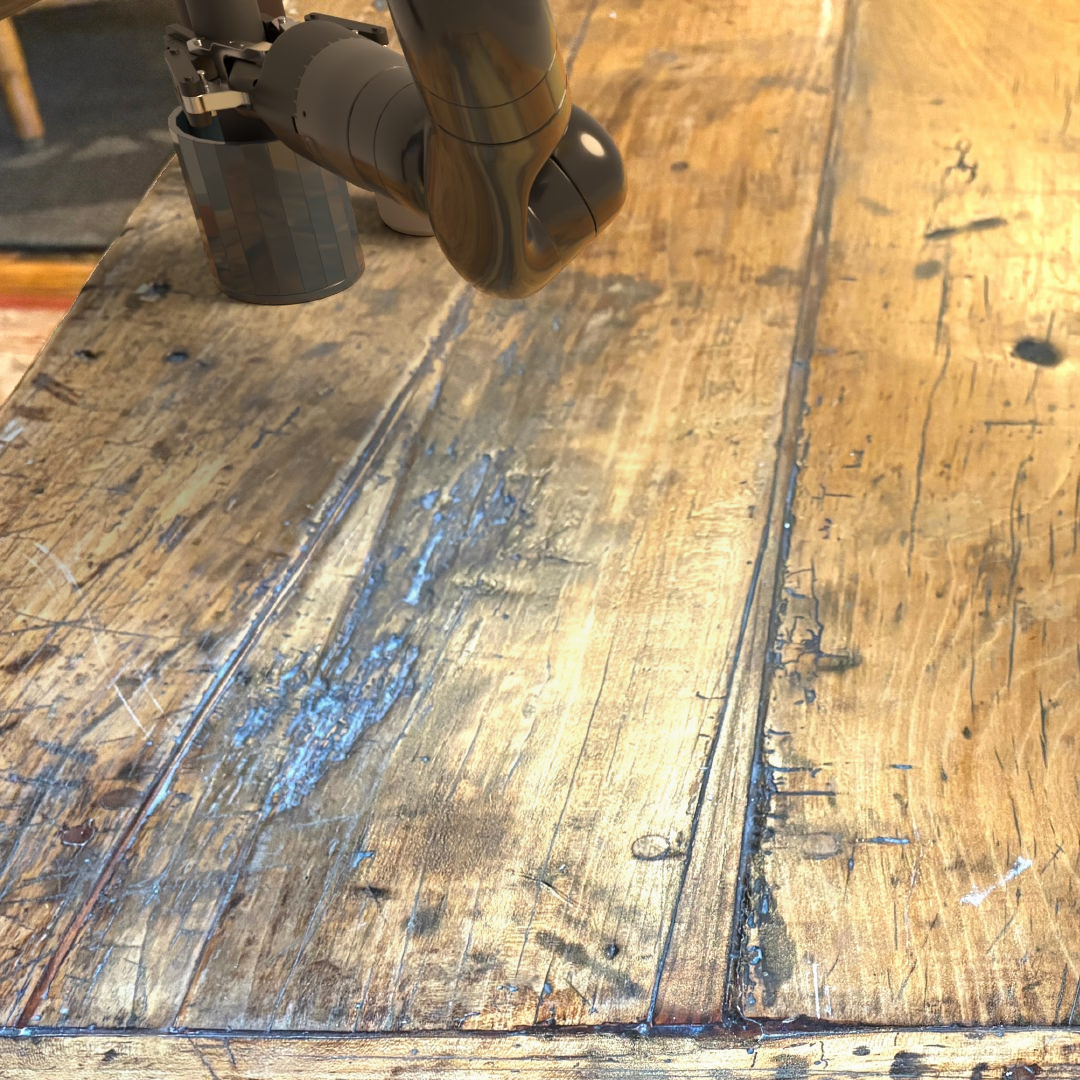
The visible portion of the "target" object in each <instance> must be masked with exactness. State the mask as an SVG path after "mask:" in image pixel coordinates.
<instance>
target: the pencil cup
mask: <svg viewBox="0 0 1080 1080" xmlns="http://www.w3.org/2000/svg"><path fill="white" fill-rule="evenodd" d="M211 119H212V124H211V125H209V126H206V127H203V128H199V127H193V126H191V124H190V122H189V120H188V118H187V116H186V115H185V113H184V111H183V109H182V107H181V105H179V106H177V107H175V108H174V110H173V111H172V112H171V113H170V115H169V116H168V118H167V122H168V123H167V125H168V130H169V133H170V137H171V140H172V144H173V147H174V150H175V154H176V158H177V161H178V164H179V167H180V168H179V169H180V171H181V175H182V178H183V181H184V184H185V187H186V191H187V194H188V198H189V201H190V205H191V208H192V212H193V214H194V218H195V221H196V225H197V228H198V231H199V235H200V238H201V242H202V246H203V249H204V252H205V255H206V259H207V262H208V266H209V269H210V272H211V276H212V277H213V280H214V283H215V285H216V287H217V288H218V290H220V292H222V293H223V294H224V295H226V296H228V297H230V298H233V299H234V300H238V301H242V302H245V303H251V304H258V305H294V304H300V303H306V302H311V301H312V302H313V301H317V300H320V299H324V298H327V297H330V296H332V295H335V294H338V293H340V292H342V291H344V290H347V289H348V288H349V287H351V286H353V285H354V284H355V283H357V282H358V280H360V278H362V276H363V275H364V273H365V271H366V261H365V257H364V251H363V246H362V243H361V242H362V241H361V239H360V233H359V229H358V225H357V221H356V216H355V212H354V209H353V204H352V200H351V194H350V191H349V186H348V182H347V181H346V180H344V179H342V178H340V177H338V176H337V175H335V174H333V173H331V172H329V171H328V170H326V169H324V168H322V167H320V166H318V165H317V164H315V163H313V162H311V161H309V160H308V159H306V158H304V157H302V156H300V155H299V154H297V153H295V152H294V151H292V150H291V149H289V148H288V147H287V146H286V145H285V144H283V143H282V142H281V141H280V139H279V138H278V137H276V138H271V139H266V140H258V141H248V142H225V141H224V137H223V134H222V130H221V127H220V123H219V120H218V116H217V115H216V116H214V117H211Z"/></svg>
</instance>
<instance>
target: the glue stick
mask: <svg viewBox="0 0 1080 1080" xmlns="http://www.w3.org/2000/svg"><path fill="white" fill-rule="evenodd" d="M185 2H186V6H187V9H188V13H189V16H190V20H191V23H192V27H193V31H194V32H195V33H197V34H199V35H201V36H203V37H205V39H207V40H211V41H215V42H217V41H219V40H222V39H225V38H227V37H232V38H236V39H240V40H243V41H247V42H251V43H255V44H257V43H259V42H262V41H264V42H267V38H266V35H265V31H264V27H263V23H262V19H261V15H260V11H259V7H258V3H257V0H185ZM215 65H216V64H215ZM216 69H217V68H216ZM217 73H218V71H217ZM216 112H217V116H218V120H219V123H220V127H221V130H222V134H223V137H224V141H225V142H248V141H258V140H266V139H271V138H276V137H277V136H276V135H275V134H274V133H273V131H272V130H271V129H270V128H269V127H268V125H267V124H266V123H265V122H264V121H263V120H262V119H258V118H252V117H246V116H243V115H241V114H240V113H238V112H237V111H236V109H235V108H227V109H220V110H216Z"/></svg>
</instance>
